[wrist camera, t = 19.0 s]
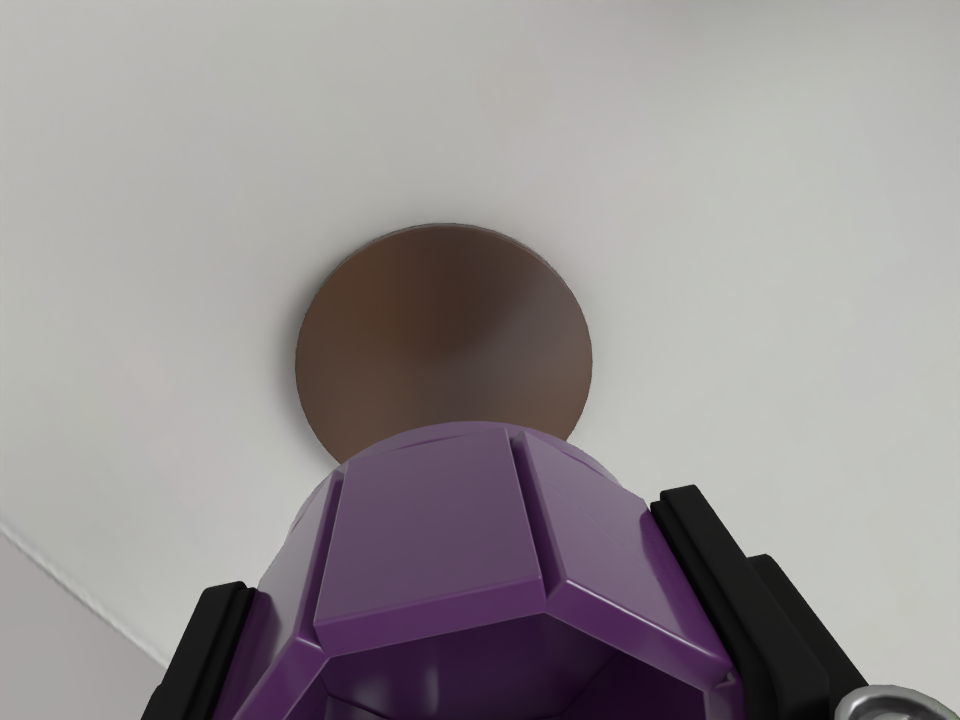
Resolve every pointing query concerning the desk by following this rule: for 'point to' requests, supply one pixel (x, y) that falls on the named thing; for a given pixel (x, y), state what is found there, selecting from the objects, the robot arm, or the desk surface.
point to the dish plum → (477, 594)
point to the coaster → (441, 340)
